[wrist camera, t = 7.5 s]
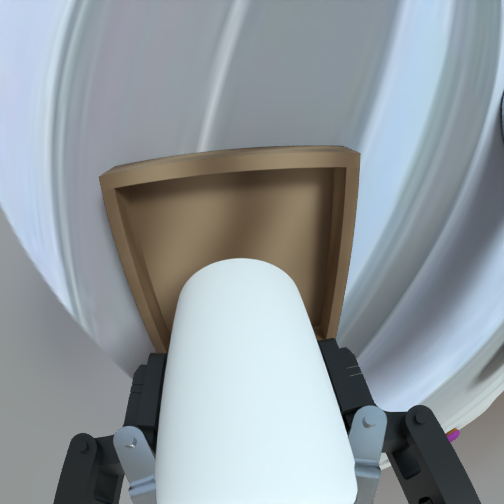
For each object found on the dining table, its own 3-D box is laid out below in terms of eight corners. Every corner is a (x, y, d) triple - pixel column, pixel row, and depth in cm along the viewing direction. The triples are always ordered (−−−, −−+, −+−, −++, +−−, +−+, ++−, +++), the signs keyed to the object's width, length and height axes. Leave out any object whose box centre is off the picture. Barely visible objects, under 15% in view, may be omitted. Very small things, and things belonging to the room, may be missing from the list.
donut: (457, 425, 66) (461, 433, 62) (456, 428, 70) (460, 436, 66) (436, 438, 68) (440, 447, 64) (436, 441, 72) (440, 449, 69)
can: (230, 358, 17) (244, 544, 6) (153, 298, 14) (111, 537, 3) (319, 309, 15) (391, 516, 5) (252, 226, 12) (318, 560, 2)
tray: (342, 145, 15) (360, 153, 13) (325, 325, 23) (333, 347, 21) (115, 166, 15) (98, 176, 13) (165, 340, 22) (161, 362, 20)
